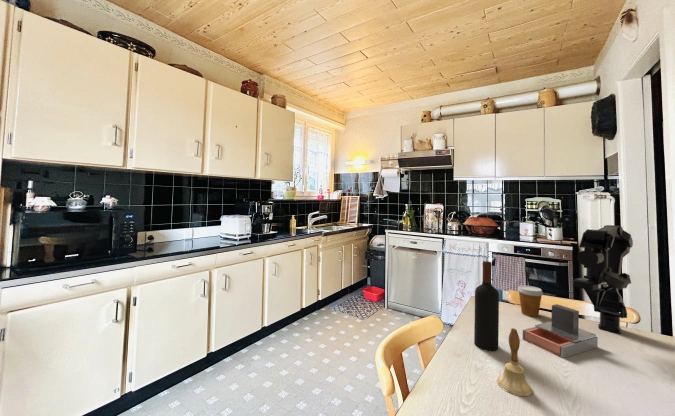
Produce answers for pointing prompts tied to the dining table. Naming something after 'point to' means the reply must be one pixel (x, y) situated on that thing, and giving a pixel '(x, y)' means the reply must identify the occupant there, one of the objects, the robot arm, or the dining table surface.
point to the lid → (565, 324)
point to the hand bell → (514, 370)
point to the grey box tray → (557, 342)
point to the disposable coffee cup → (530, 300)
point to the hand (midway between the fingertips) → (596, 304)
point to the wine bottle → (486, 312)
